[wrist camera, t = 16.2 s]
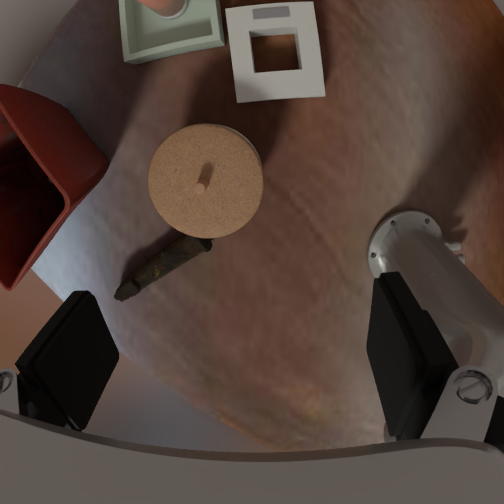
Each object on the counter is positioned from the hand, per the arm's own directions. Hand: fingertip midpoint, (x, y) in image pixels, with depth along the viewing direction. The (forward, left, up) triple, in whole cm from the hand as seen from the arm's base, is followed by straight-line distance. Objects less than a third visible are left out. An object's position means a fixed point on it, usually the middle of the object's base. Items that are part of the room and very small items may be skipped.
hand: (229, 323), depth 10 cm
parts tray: (+9, -22, -33) cm, 41 cm away
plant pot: (+30, -4, -34) cm, 45 cm away
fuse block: (-3, -13, -33) cm, 36 cm away
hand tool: (+17, +15, -34) cm, 41 cm away
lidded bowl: (+6, +1, -34) cm, 34 cm away
